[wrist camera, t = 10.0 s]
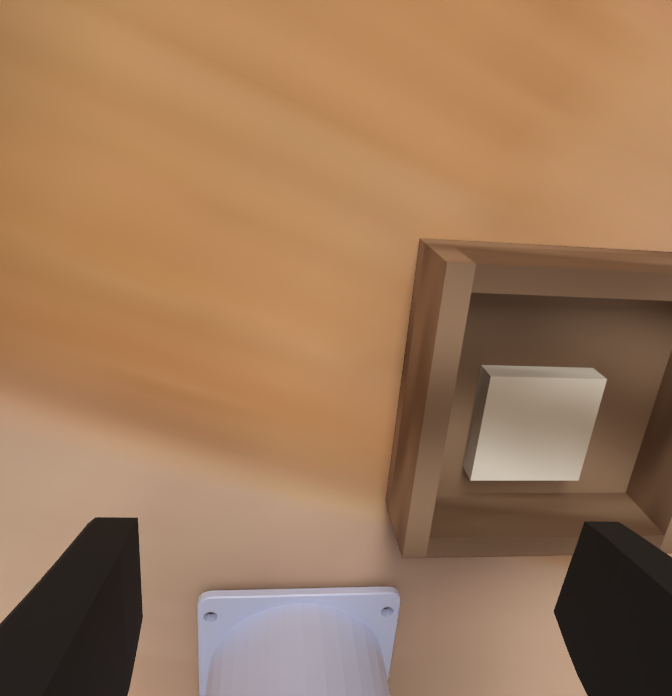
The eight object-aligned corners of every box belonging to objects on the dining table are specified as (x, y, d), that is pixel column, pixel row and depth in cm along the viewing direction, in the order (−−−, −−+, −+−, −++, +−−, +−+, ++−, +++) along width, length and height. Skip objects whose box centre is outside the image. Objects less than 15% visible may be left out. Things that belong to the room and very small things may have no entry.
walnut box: (630, 499, 23) (679, 553, 20) (385, 501, 22) (402, 557, 19) (710, 254, 19) (784, 278, 16) (419, 238, 18) (447, 262, 15)
